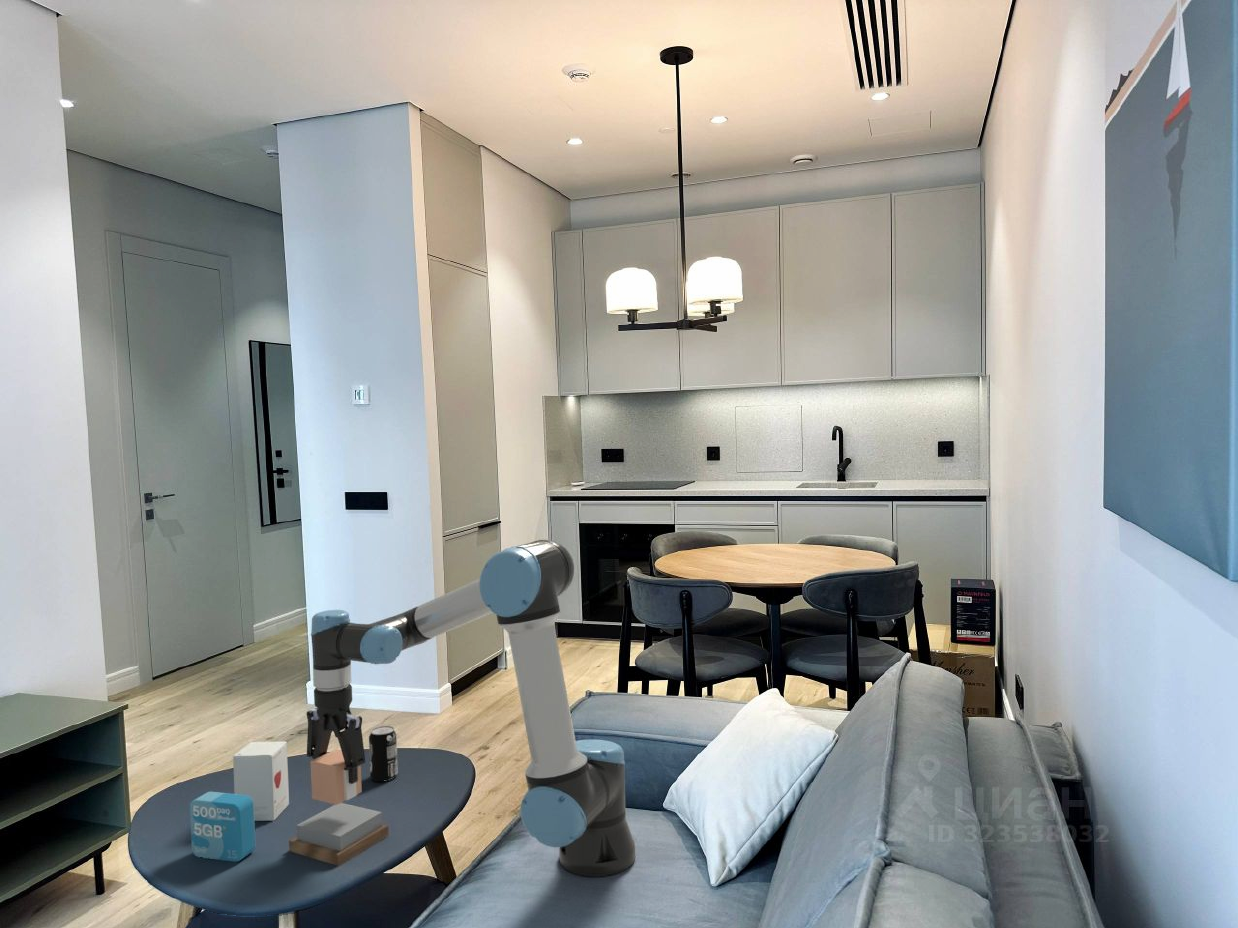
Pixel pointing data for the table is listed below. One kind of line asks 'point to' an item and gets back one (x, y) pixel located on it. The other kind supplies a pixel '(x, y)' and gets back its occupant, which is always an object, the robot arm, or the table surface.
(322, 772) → the terracotta block
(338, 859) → the base block
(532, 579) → the robot arm
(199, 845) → the data package
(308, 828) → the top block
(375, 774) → the beverage can
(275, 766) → the supplement box
